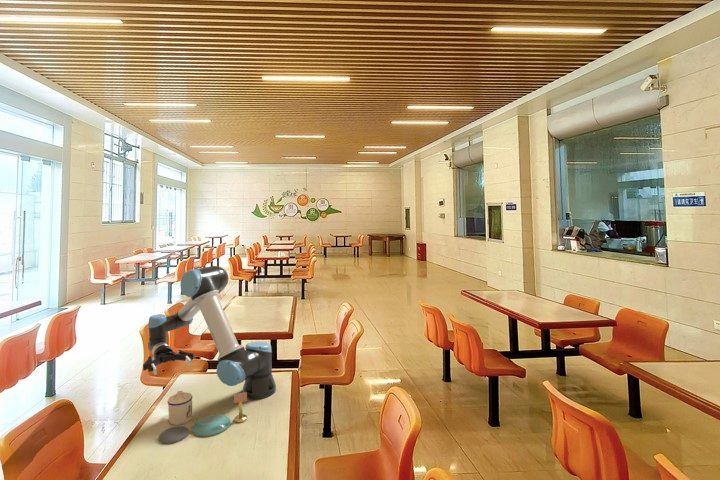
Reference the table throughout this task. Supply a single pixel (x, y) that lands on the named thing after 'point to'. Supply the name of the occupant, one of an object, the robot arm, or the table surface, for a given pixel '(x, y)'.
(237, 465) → the table surface
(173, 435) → the charcoal coaster
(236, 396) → the brass tag sign
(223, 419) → the teal coaster
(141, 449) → the table surface
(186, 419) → the teacup with lid
